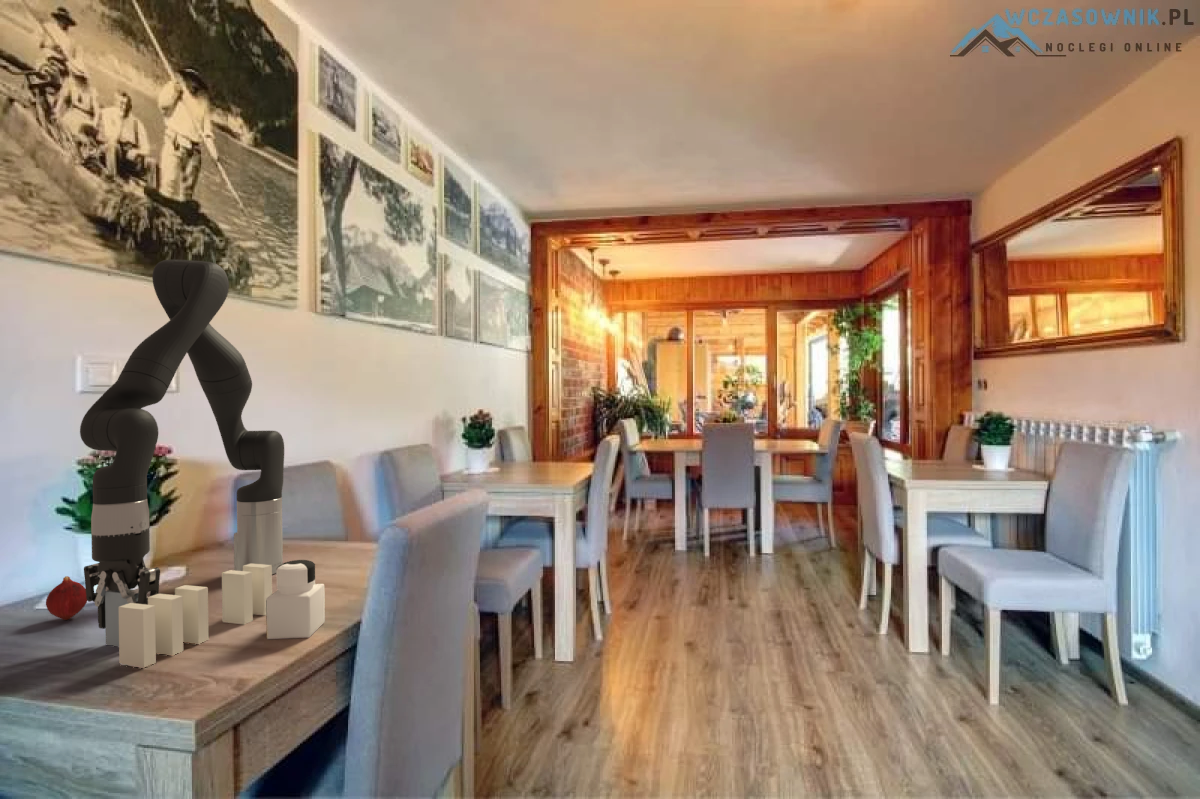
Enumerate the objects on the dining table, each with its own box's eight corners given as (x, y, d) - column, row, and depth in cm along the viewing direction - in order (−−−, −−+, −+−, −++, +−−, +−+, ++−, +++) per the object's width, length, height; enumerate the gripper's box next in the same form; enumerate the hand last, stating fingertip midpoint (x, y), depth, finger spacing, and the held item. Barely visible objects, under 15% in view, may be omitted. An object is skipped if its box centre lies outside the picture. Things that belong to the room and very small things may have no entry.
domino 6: (243, 613, 113) (242, 565, 113) (251, 609, 115) (250, 563, 115) (264, 615, 111) (264, 567, 111) (272, 612, 113) (271, 565, 113)
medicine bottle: (284, 624, 107) (283, 557, 107) (325, 622, 108) (324, 556, 108) (265, 640, 100) (264, 569, 100) (309, 638, 101) (308, 567, 101)
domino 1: (105, 645, 99) (104, 591, 99) (117, 641, 100) (116, 587, 100) (128, 648, 97) (127, 593, 97) (139, 644, 99) (138, 590, 99)
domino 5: (222, 622, 108) (221, 572, 108) (231, 618, 110) (230, 570, 110) (244, 624, 107) (243, 574, 107) (252, 620, 109) (252, 571, 109)
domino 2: (119, 665, 91) (118, 606, 91) (131, 660, 93) (130, 602, 93) (144, 668, 90) (143, 609, 90) (155, 663, 92) (155, 605, 91)
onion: (95, 615, 112) (95, 573, 112) (59, 627, 107) (58, 582, 107) (75, 612, 114) (74, 571, 114) (38, 623, 109) (38, 579, 109)
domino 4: (175, 641, 100) (174, 588, 100) (185, 637, 102) (184, 585, 101) (198, 644, 98) (198, 590, 98) (208, 640, 100) (207, 587, 100)
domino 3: (148, 653, 95) (147, 597, 95) (159, 648, 97) (158, 593, 97) (172, 656, 94) (171, 599, 94) (183, 651, 96) (182, 595, 96)
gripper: (64, 531, 97) (65, 633, 97) (130, 535, 93) (131, 642, 93) (112, 521, 104) (114, 617, 104) (176, 525, 100) (177, 624, 100)
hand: (122, 628), depth 99 cm, fingers open, 6 cm apart
